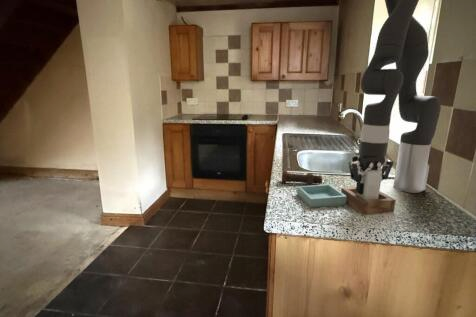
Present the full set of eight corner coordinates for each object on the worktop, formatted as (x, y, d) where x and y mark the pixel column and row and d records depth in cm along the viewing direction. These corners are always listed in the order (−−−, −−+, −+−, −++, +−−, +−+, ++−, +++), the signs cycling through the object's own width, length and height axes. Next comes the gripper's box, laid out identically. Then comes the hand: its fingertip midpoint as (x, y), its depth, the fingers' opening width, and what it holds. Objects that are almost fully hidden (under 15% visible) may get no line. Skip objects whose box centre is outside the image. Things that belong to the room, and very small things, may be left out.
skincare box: (377, 209, 86) (383, 172, 82) (363, 209, 85) (368, 172, 82) (367, 201, 92) (372, 165, 88) (354, 201, 91) (358, 166, 88)
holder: (368, 196, 95) (370, 185, 94) (393, 212, 84) (395, 199, 83) (340, 199, 93) (341, 187, 92) (362, 215, 82) (363, 202, 81)
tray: (328, 192, 99) (329, 184, 98) (345, 204, 89) (346, 196, 88) (296, 194, 97) (297, 186, 96) (310, 208, 87) (311, 199, 86)
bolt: (321, 190, 106) (281, 186, 108) (320, 180, 110) (281, 177, 112) (323, 180, 102) (282, 176, 104) (322, 170, 106) (282, 167, 108)
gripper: (386, 136, 88) (379, 187, 92) (345, 137, 85) (340, 190, 90) (404, 140, 81) (396, 195, 85) (360, 143, 78) (353, 199, 83)
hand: (367, 192), depth 87 cm, fingers closed on skincare box, 4 cm apart
